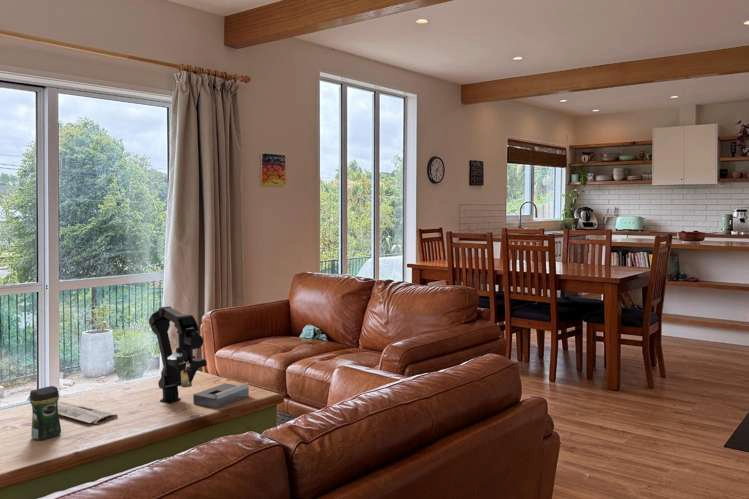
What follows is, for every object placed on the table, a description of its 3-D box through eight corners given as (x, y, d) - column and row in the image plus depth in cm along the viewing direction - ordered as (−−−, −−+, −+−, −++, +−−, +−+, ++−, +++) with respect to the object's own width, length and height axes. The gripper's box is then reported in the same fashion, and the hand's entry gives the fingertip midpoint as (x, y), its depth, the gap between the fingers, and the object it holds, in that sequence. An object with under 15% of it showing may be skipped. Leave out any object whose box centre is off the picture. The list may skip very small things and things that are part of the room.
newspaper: (117, 418, 261) (117, 410, 261) (91, 427, 250) (91, 419, 250) (61, 405, 278) (61, 397, 278) (34, 413, 267) (34, 405, 267)
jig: (193, 403, 279) (193, 389, 279) (225, 391, 296) (225, 378, 296) (217, 408, 272) (217, 394, 272) (248, 396, 290) (248, 383, 289)
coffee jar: (54, 430, 246) (52, 383, 245) (64, 435, 241) (62, 386, 240) (28, 437, 239) (26, 388, 237) (37, 442, 234) (35, 392, 232)
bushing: (178, 386, 270) (178, 370, 270) (186, 383, 274) (186, 367, 274) (186, 387, 268) (186, 371, 268) (194, 385, 272) (193, 368, 271)
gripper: (155, 346, 268) (156, 382, 269) (187, 351, 258) (188, 389, 259) (175, 341, 277) (176, 376, 278) (207, 345, 268) (208, 382, 269)
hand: (186, 381), depth 271 cm, fingers closed on bushing, 4 cm apart
